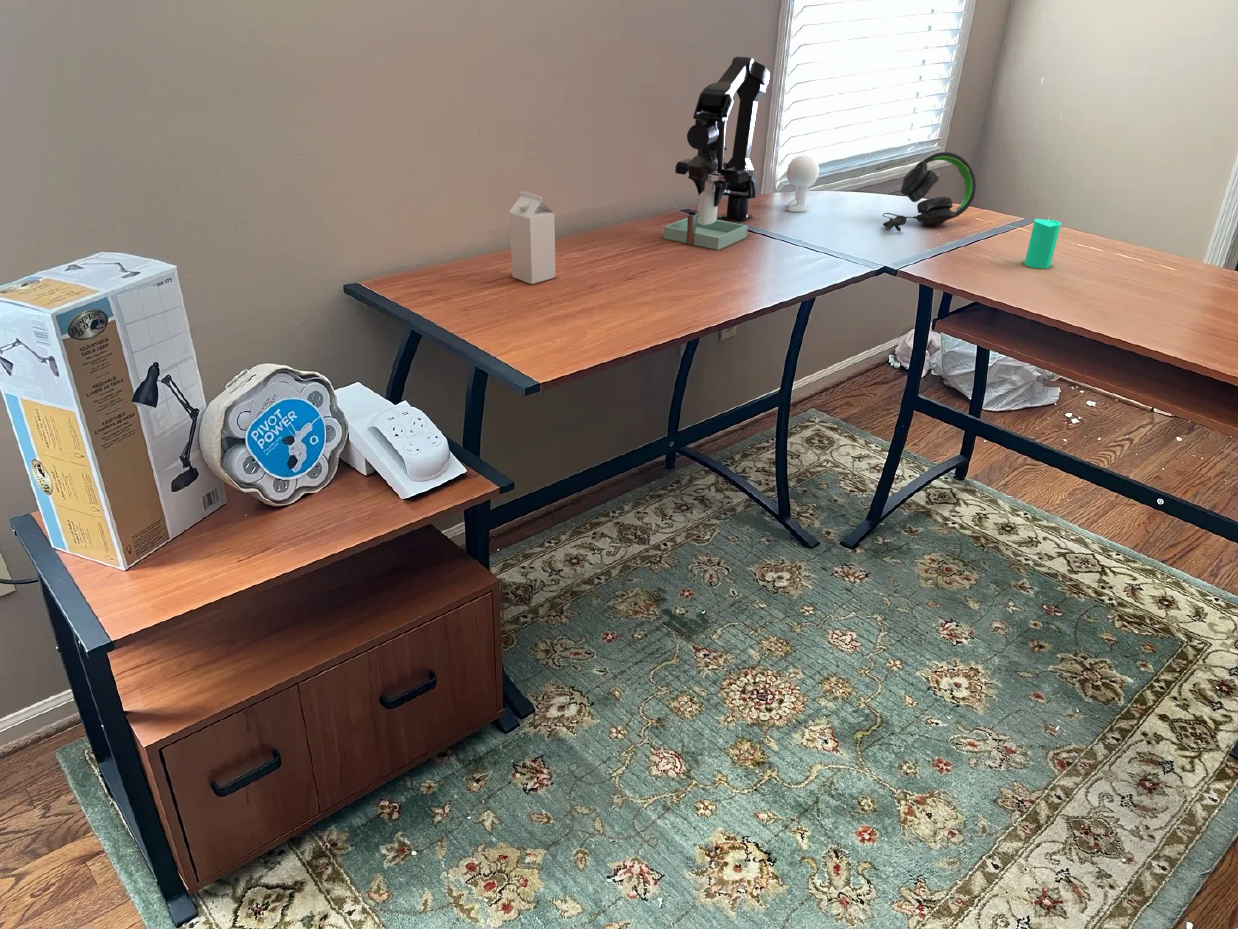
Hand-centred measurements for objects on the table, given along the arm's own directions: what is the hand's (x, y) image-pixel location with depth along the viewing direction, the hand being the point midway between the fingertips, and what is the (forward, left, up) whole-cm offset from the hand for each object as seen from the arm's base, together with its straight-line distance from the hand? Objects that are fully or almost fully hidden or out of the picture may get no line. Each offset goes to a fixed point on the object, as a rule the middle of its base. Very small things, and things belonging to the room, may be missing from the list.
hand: (709, 205), depth 235 cm
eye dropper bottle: (0, 0, -5) cm, 5 cm away
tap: (+8, 0, -8) cm, 12 cm away
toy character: (-41, +6, -8) cm, 43 cm away
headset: (-47, +42, -8) cm, 64 cm away
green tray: (+1, 0, -8) cm, 8 cm away
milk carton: (+54, -13, -9) cm, 56 cm away
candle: (-30, +76, -8) cm, 82 cm away
